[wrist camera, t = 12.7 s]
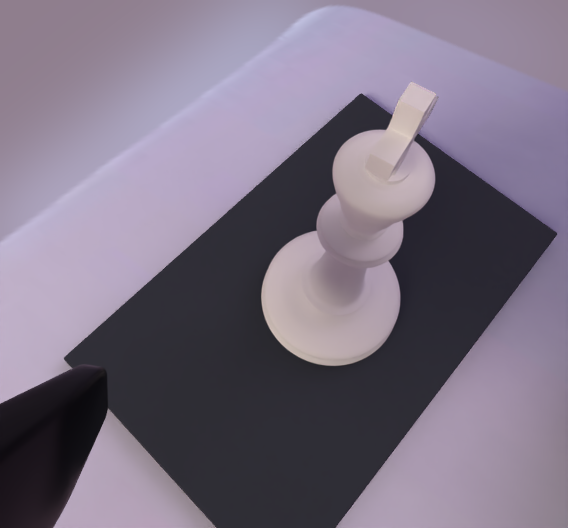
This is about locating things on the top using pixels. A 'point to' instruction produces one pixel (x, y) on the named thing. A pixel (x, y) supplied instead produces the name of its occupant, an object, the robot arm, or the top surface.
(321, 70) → the top surface
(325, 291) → the chess piece
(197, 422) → the mat
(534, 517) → the top surface
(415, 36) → the top surface
